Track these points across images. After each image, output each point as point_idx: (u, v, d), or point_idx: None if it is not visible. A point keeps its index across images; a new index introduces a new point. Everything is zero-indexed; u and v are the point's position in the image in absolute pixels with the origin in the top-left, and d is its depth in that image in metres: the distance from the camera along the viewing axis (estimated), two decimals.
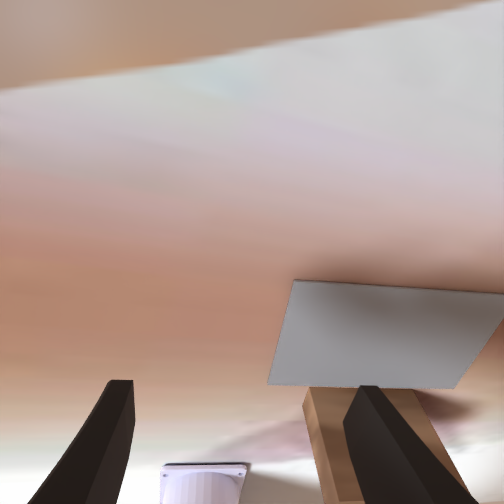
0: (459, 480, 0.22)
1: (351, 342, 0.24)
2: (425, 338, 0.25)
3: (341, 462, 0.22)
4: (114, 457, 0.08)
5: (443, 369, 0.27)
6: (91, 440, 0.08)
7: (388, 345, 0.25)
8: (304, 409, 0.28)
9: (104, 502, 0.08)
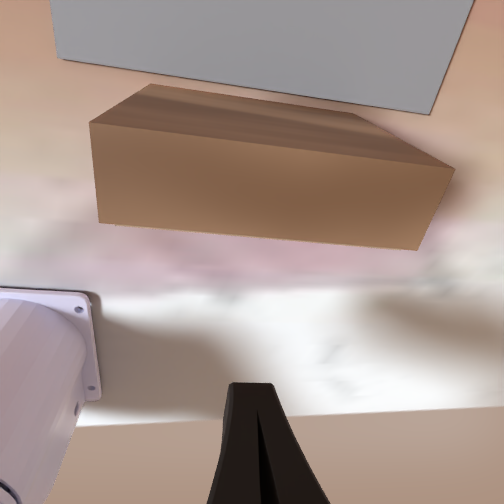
0: (426, 156, 0.10)
1: None
2: None
3: (147, 110, 0.09)
4: None
5: (407, 47, 0.14)
6: (241, 440, 0.08)
7: None
8: None
9: None
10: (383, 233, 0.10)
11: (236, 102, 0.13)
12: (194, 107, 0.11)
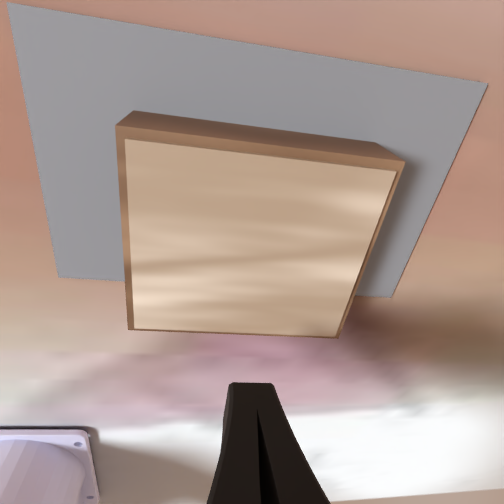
0: None
1: None
2: None
3: None
4: None
5: None
6: (241, 440, 0.08)
7: None
8: None
9: None
10: (364, 152, 0.11)
11: None
12: None
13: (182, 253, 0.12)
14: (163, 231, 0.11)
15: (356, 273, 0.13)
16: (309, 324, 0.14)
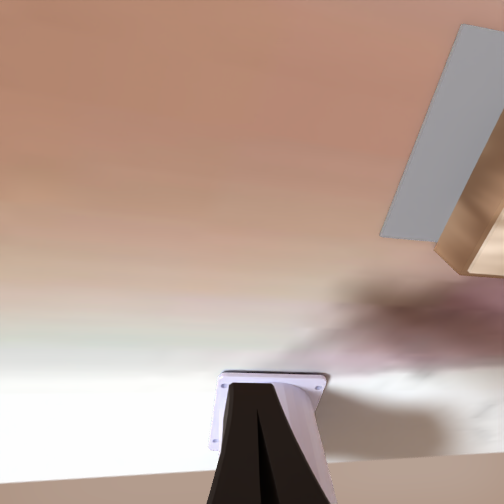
0: None
1: None
2: None
3: None
4: None
5: None
6: (241, 440, 0.08)
7: None
8: (460, 262, 0.18)
9: None
10: None
11: None
12: None
13: None
14: None
15: None
16: None
